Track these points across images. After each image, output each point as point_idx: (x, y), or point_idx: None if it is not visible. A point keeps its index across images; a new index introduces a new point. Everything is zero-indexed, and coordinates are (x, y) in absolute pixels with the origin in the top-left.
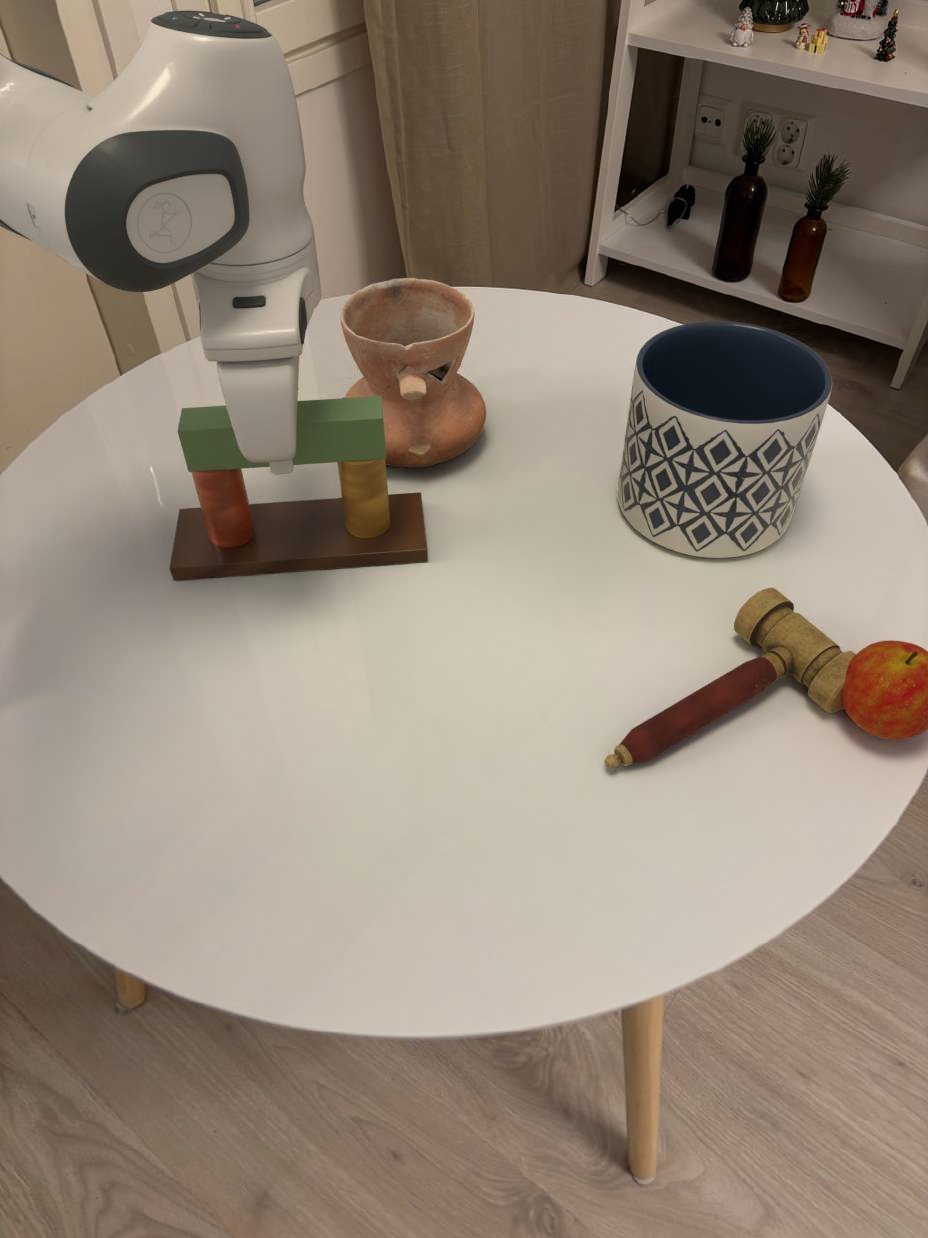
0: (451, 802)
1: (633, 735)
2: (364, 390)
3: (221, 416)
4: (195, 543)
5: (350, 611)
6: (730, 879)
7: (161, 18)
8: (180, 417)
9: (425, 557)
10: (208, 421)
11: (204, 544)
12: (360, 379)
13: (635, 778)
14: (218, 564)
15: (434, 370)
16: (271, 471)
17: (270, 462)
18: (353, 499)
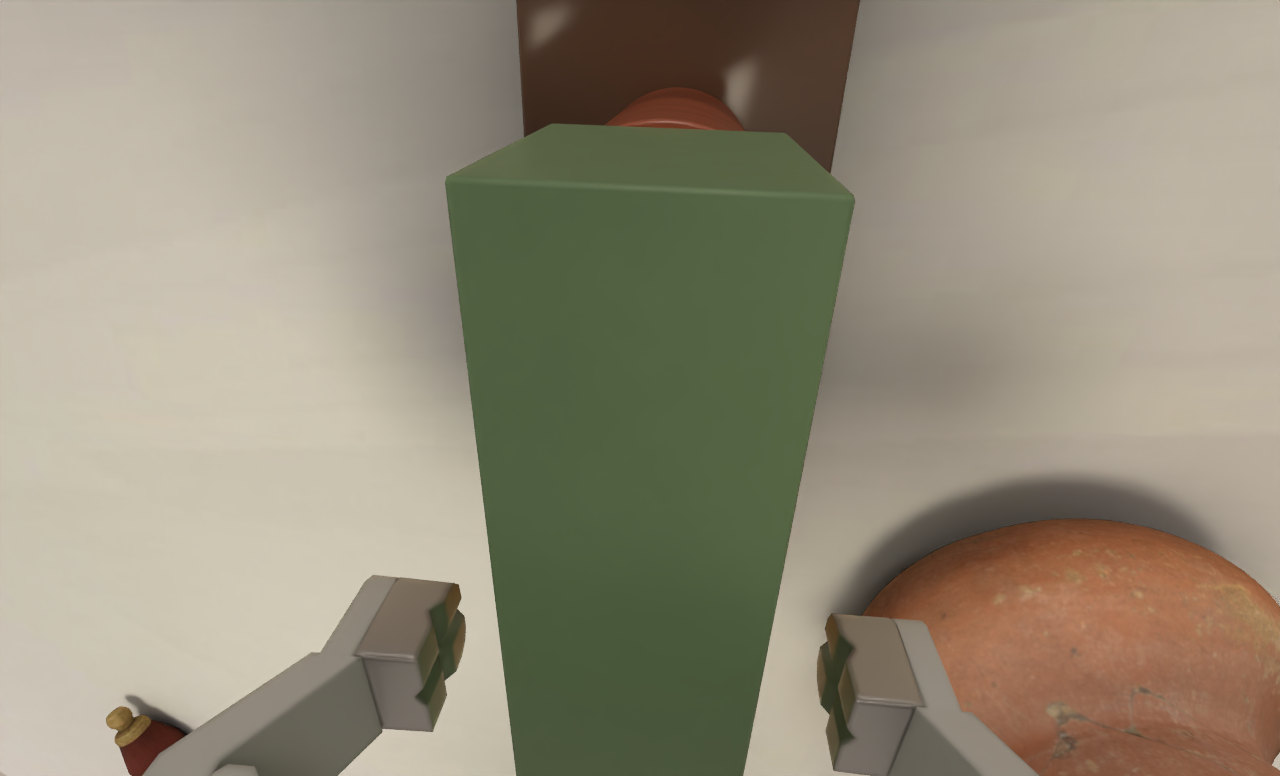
0: (7, 533)
1: (137, 761)
2: (1143, 691)
3: (632, 517)
4: (638, 36)
5: (411, 437)
6: (23, 749)
7: None
8: (677, 192)
9: None
10: (580, 431)
11: (628, 73)
12: (1265, 657)
13: None
14: (525, 130)
15: None
16: (368, 580)
17: (344, 623)
18: None
